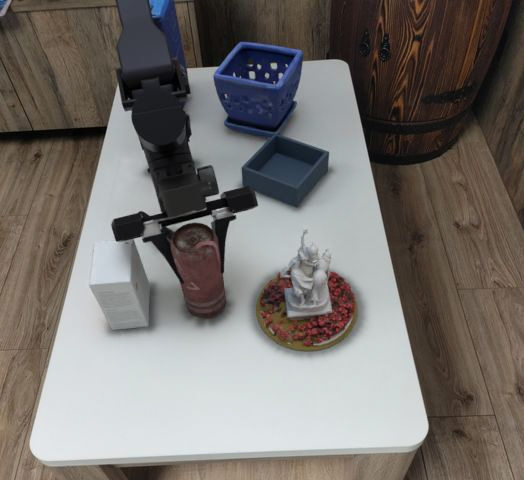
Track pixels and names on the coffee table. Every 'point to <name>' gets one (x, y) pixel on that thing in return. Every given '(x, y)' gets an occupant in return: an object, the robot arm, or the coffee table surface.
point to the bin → (285, 169)
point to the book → (169, 28)
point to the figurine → (307, 303)
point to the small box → (120, 284)
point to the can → (199, 269)
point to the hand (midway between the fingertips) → (202, 278)
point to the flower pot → (258, 88)
